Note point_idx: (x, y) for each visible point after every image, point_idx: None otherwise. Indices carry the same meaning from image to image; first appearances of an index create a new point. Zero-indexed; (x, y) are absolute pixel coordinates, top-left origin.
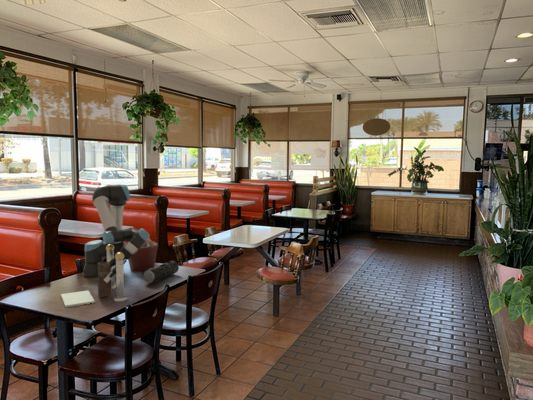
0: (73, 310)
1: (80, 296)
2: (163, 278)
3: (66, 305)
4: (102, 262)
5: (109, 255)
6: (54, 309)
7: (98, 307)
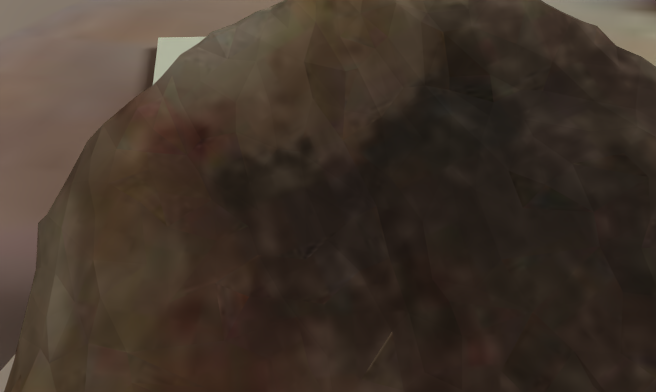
0: (71, 83)
1: None
2: None
3: (158, 44)
4: (622, 254)
5: None
6: (168, 2)
7: (7, 241)
